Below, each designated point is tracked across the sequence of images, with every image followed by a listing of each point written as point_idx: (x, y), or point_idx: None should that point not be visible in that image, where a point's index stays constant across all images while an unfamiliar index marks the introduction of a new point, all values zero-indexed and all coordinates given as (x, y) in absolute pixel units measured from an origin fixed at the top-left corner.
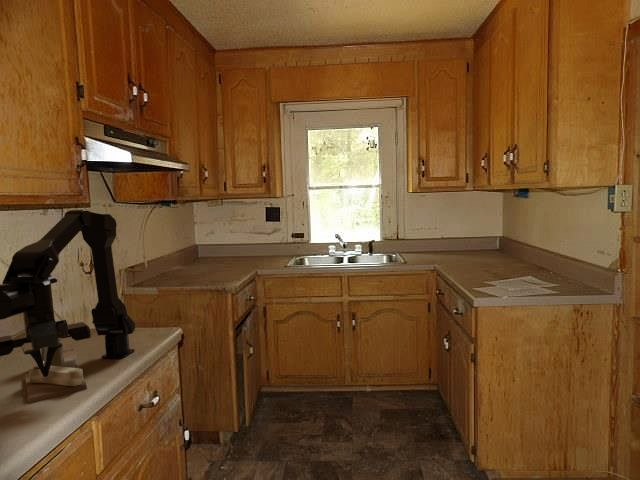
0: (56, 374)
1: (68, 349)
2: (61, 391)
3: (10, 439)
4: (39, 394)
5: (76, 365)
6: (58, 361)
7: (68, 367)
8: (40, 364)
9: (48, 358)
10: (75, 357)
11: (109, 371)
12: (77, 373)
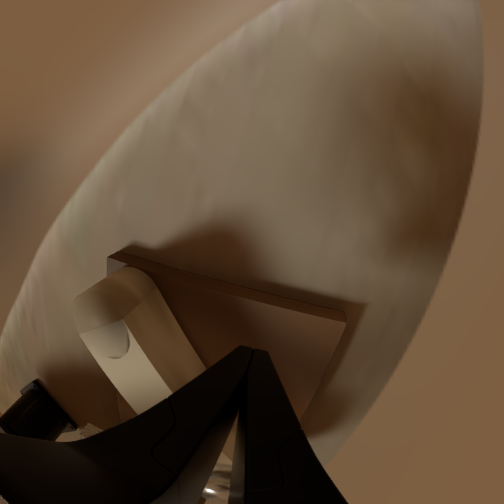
0: None
1: None
2: (205, 284)
3: (470, 19)
4: (295, 325)
5: None
6: None
7: (124, 397)
8: (275, 423)
9: (176, 436)
10: (91, 431)
11: (53, 335)
12: (95, 291)
